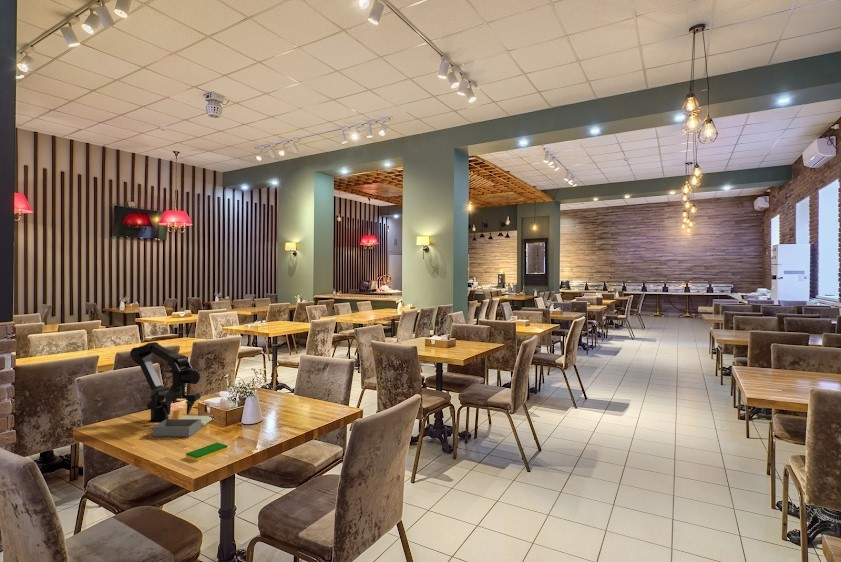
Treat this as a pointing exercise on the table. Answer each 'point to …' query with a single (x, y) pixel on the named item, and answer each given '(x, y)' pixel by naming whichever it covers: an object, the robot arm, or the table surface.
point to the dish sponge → (206, 452)
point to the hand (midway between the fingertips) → (178, 414)
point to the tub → (177, 428)
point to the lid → (179, 415)
